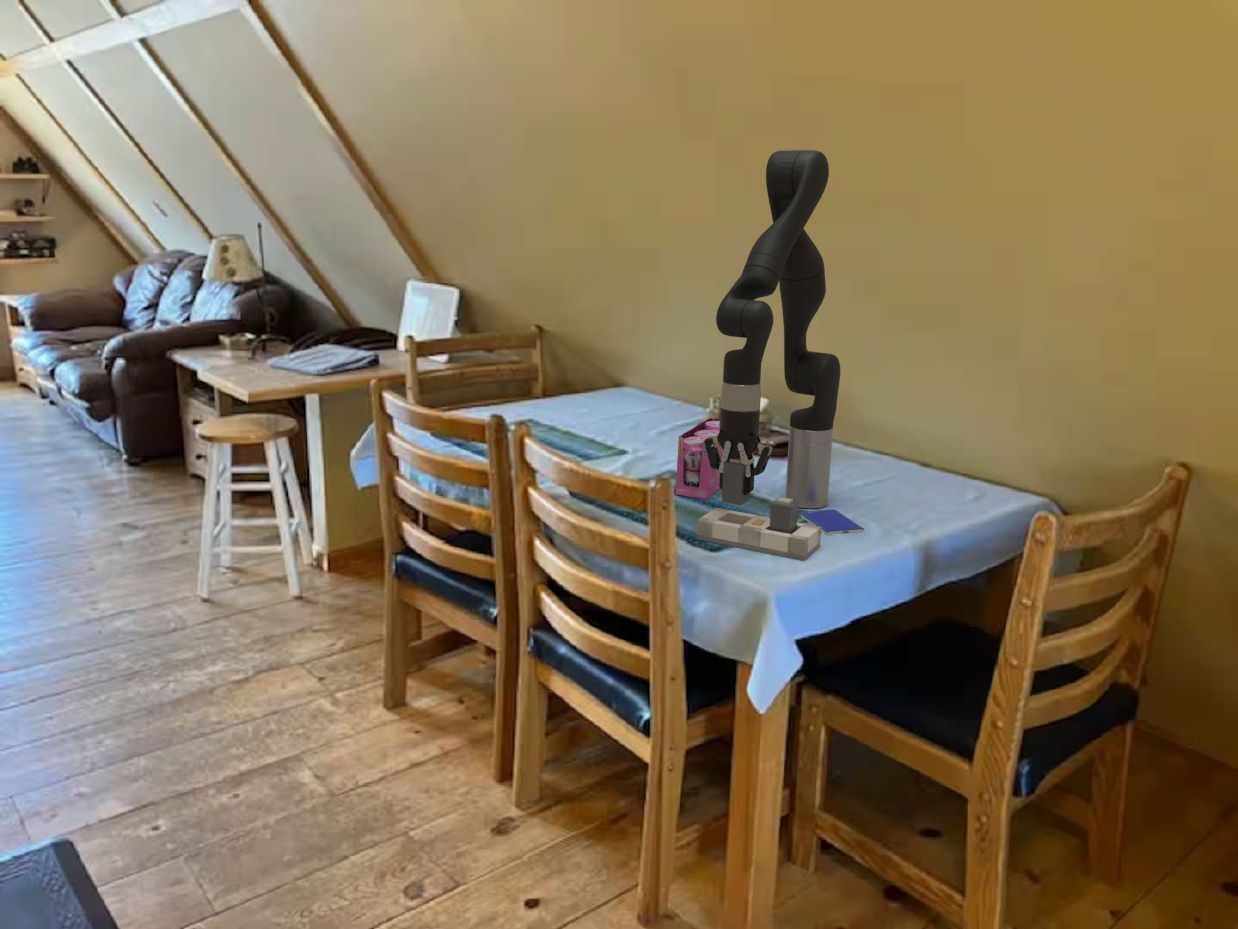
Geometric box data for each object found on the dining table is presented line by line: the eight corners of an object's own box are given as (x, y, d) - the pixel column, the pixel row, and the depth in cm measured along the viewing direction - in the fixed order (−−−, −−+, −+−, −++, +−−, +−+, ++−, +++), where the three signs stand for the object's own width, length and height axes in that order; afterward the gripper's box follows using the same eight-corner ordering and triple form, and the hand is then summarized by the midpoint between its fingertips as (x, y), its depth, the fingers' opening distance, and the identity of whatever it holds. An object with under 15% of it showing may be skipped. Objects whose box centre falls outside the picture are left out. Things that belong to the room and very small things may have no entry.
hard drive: (800, 511, 209) (827, 530, 197) (835, 508, 211) (864, 527, 199) (800, 518, 209) (826, 538, 198) (835, 516, 211) (863, 535, 200)
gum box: (706, 501, 218) (708, 441, 215) (672, 496, 221) (674, 437, 218) (738, 475, 240) (741, 420, 236) (707, 471, 243) (709, 416, 239)
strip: (696, 539, 194) (697, 518, 193) (715, 526, 202) (716, 506, 201) (803, 560, 184) (805, 538, 182) (820, 546, 191) (821, 525, 190)
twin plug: (776, 537, 193) (778, 495, 190) (796, 541, 191) (798, 498, 188) (768, 543, 189) (771, 500, 187) (788, 547, 187) (791, 504, 185)
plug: (730, 496, 195) (732, 454, 193) (749, 500, 194) (751, 457, 191) (721, 502, 192) (723, 459, 190) (740, 505, 190) (743, 462, 188)
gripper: (782, 406, 188) (777, 493, 192) (714, 398, 195) (710, 482, 199) (768, 413, 181) (762, 503, 186) (697, 404, 188) (694, 491, 193)
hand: (736, 492), depth 192 cm, fingers closed on plug, 4 cm apart
